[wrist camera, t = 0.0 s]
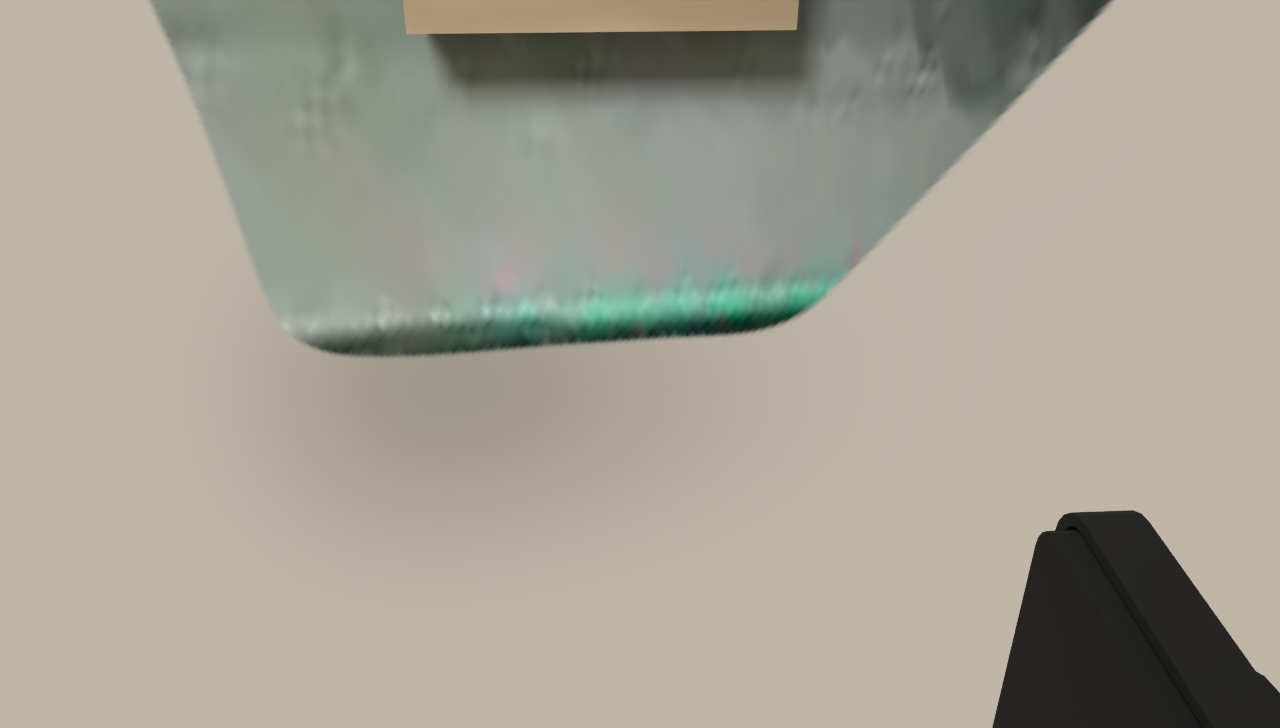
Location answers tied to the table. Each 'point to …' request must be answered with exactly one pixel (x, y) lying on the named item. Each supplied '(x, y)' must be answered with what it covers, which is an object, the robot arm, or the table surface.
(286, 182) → the table surface
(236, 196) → the table surface
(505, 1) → the holder
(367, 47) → the table surface
